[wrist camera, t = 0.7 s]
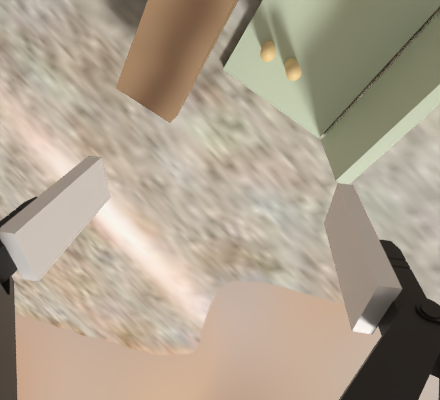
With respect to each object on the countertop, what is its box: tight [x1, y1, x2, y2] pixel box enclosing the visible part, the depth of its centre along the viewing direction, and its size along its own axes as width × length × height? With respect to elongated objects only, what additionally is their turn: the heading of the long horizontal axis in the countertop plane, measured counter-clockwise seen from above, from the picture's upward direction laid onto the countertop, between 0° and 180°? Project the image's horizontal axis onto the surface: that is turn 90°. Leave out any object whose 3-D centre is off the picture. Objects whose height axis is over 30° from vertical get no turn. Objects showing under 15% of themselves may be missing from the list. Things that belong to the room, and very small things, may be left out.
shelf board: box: [116, 0, 238, 123], centre depth 25 cm, size 6×12×2 cm, turn 148°
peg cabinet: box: [223, 0, 440, 184], centre depth 24 cm, size 16×17×11 cm
